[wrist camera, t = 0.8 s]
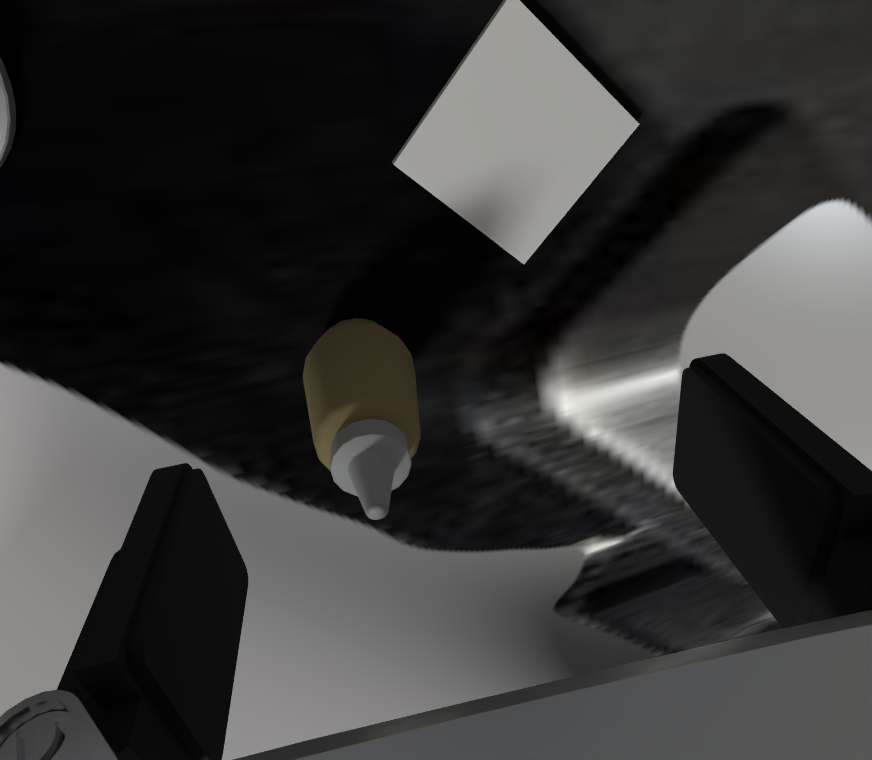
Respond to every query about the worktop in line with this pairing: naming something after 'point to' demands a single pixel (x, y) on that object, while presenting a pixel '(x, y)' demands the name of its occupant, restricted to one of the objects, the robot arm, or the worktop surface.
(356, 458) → the squeeze bottle
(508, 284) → the worktop surface
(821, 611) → the robot arm
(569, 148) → the tile
